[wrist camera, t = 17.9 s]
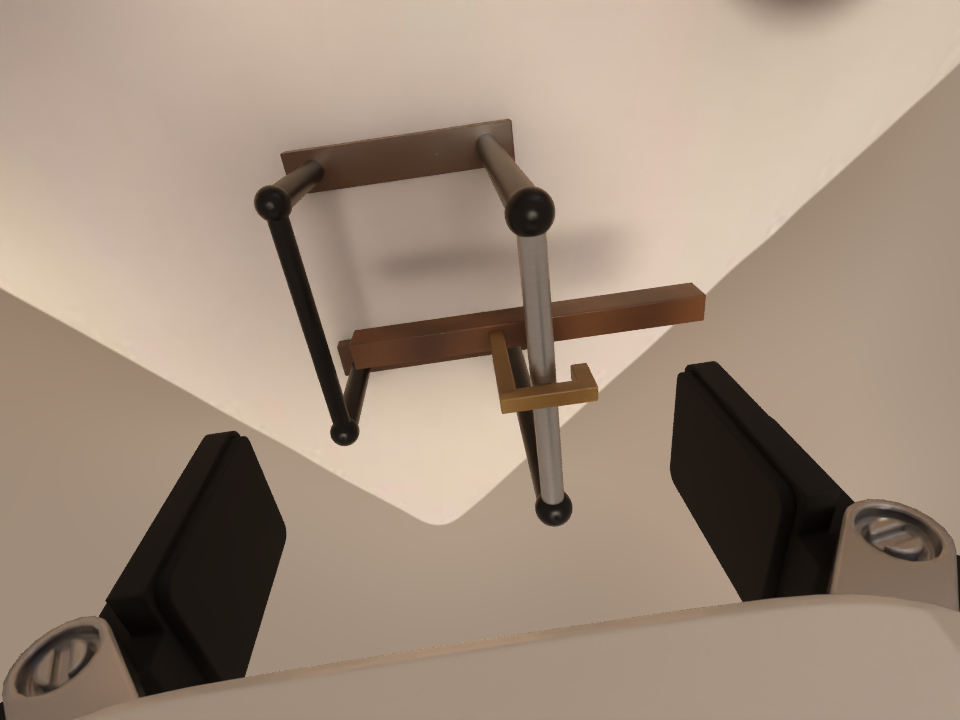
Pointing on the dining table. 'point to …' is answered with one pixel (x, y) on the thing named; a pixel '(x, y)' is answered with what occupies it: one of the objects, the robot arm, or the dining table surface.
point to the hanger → (510, 331)
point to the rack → (539, 427)
